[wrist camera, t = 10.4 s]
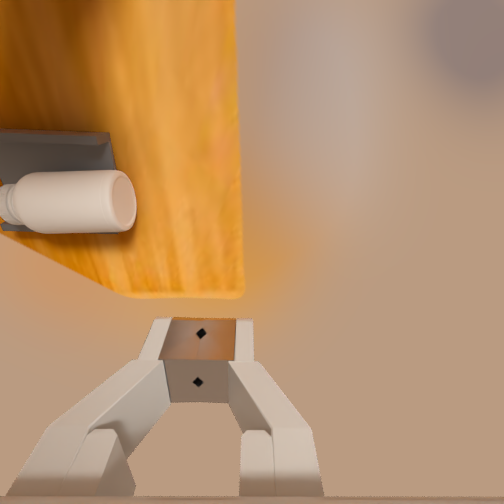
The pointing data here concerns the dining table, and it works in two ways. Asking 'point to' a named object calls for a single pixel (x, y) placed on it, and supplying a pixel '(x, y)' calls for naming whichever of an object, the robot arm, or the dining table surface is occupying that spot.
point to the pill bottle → (70, 202)
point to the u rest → (51, 156)
